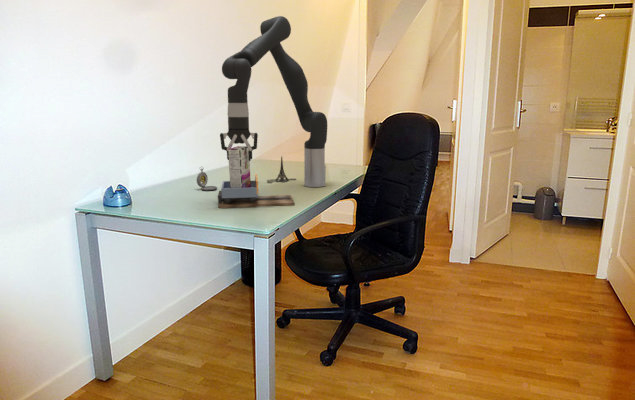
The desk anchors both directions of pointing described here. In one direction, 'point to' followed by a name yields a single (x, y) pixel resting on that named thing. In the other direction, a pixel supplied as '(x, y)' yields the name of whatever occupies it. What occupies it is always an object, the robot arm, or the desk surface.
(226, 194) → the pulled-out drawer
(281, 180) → the eiffel tower figurine
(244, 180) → the candy bar box
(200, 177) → the pocket watch
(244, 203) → the track
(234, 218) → the desk surface
